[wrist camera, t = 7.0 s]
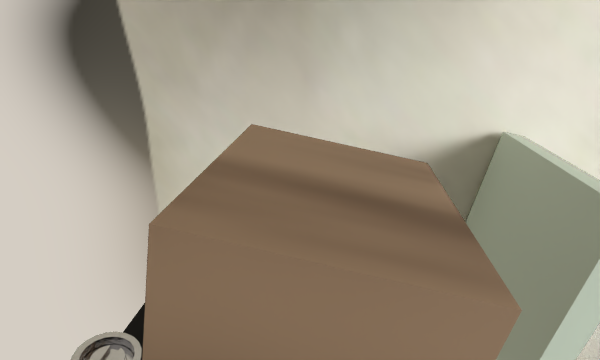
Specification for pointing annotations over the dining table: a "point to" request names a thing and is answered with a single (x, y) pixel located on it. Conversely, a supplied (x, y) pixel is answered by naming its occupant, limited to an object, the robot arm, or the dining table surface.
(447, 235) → the block
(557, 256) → the door
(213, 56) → the dining table surface
